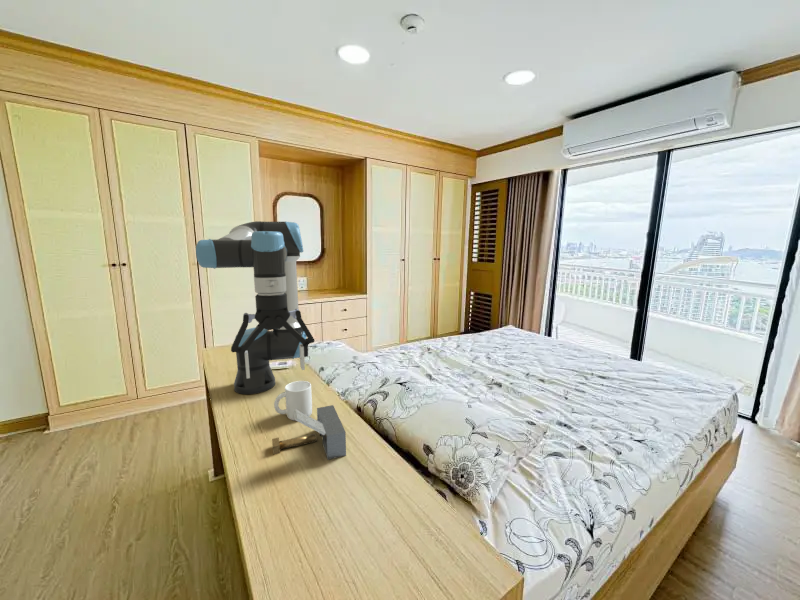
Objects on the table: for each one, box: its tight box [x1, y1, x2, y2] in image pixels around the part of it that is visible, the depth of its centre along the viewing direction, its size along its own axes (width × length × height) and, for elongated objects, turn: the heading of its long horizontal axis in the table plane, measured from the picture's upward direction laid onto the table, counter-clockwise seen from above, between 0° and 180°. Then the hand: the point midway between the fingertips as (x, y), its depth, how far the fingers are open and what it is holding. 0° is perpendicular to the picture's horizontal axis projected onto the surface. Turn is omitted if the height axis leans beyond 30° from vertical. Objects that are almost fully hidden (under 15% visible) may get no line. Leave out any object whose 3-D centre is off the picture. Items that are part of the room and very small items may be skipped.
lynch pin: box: [271, 433, 317, 455], centre depth 95 cm, size 12×4×2 cm, turn 113°
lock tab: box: [294, 409, 326, 435], centre depth 88 cm, size 5×9×1 cm
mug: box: [273, 380, 313, 421], centre depth 110 cm, size 12×8×10 cm
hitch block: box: [316, 404, 347, 461], centre depth 96 cm, size 16×5×7 cm, turn 23°
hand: (276, 372), depth 88 cm, fingers open, 13 cm apart
